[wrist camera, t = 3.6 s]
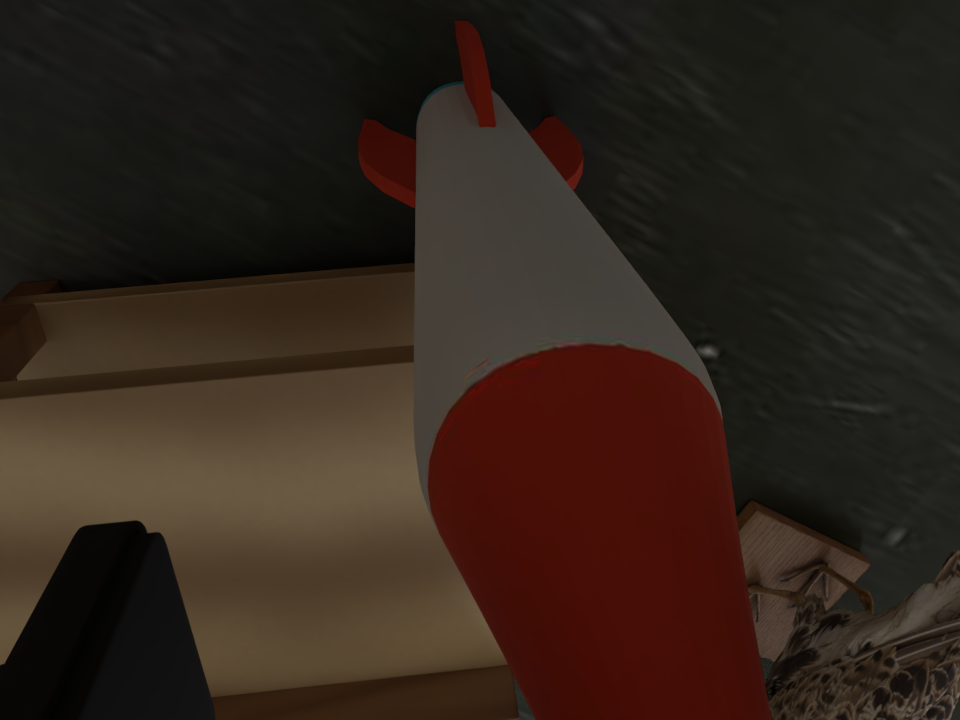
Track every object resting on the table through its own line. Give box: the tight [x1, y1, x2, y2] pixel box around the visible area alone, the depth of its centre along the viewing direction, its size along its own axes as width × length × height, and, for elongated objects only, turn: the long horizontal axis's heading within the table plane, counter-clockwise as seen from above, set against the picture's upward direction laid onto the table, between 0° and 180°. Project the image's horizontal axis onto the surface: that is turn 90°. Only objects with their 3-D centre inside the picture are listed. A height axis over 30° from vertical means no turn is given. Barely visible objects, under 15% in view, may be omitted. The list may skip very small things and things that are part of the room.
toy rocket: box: [358, 21, 772, 720], centre depth 18 cm, size 6×6×30 cm
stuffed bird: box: [737, 500, 960, 720], centre depth 36 cm, size 10×20×17 cm, turn 169°
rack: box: [0, 263, 519, 720], centre depth 31 cm, size 14×18×12 cm
